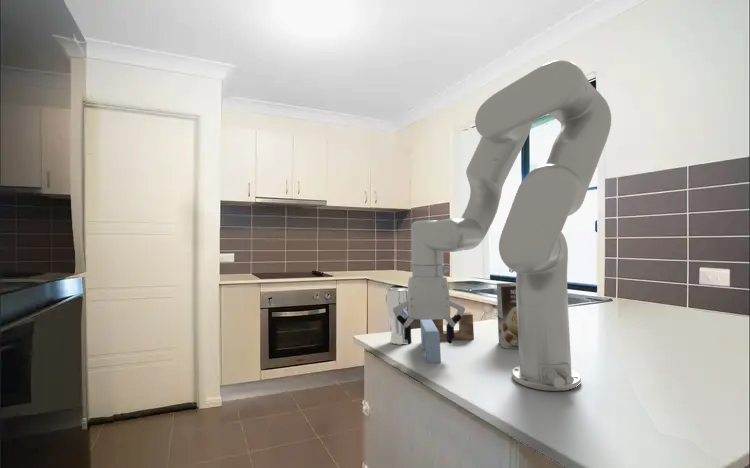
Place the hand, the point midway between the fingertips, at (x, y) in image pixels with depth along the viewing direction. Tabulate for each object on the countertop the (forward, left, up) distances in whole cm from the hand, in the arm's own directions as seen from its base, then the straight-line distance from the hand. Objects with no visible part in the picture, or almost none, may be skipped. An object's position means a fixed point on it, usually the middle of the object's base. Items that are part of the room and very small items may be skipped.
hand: (429, 342), depth 94 cm
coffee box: (+8, -24, -4) cm, 26 cm away
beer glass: (+16, +6, -4) cm, 18 cm away
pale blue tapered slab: (+5, -1, -4) cm, 7 cm away
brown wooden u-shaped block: (+17, -8, -4) cm, 20 cm away
